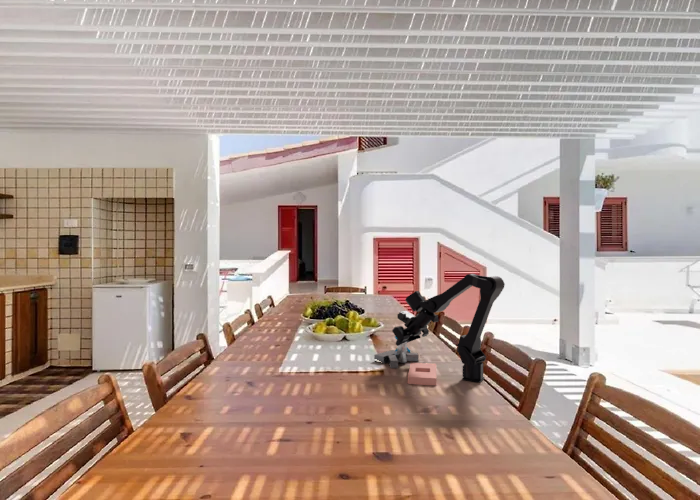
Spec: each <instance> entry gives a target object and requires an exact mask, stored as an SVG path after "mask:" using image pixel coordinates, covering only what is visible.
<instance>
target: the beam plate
mask: <svg viewBox="0 0 700 500" xmlns="http://www.w3.org/2000/svg"><path fill="white" fill-rule="evenodd" d="M407 384H408V385H424V386H437V363H426V362H425V363H424V362H410V365H409V369H408V373H407Z"/></svg>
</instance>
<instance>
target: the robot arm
mask: <svg viewBox="0 0 700 500" xmlns="http://www.w3.org/2000/svg"><path fill="white" fill-rule="evenodd" d="M505 285H506V284H505V282H504V279H503V278H502V277H500V276H496V275H495V276H485V275H479V274H475V273H468V274H466V275H465V276H464V277H463V278H461V279H460V280H459V281H457V282H456V283H454V284H453V285H451V286H450V287H449V288H447V290H445V291H444V292H441V293H440V294H436V295H434V296H432V297H430V298H428V299H425V298H424V297H423V296H422V294H421V292H420V290H415V291H414V292H412V293H410V294H409V295H407V296H406V298H405V300H404V301H405V302H406V303H407V305H408V306H409V307H410V308H411V310H412V311H413V312H417V314H416V315H414V314H413V313H410V311H407V310H402V311H400V312H398V313H397V314H396V315H397V319H398V320H399V321H400V322H403V323H404V326H401V325H399V326H395V327H393V328H392V329H391V331H392V333H393V334H394V337H395V336H396V337H397V339H396V341H395V345H396V347H397V346H398V345H400V344H403V343H405V342H407V344H408V343H411V342H414V341H415V340H418V339H421V338H423V337H427V336H428V335H429V333H430V332H429V331H430V330H429V328H428V325H429V324H430V323H437V322H439V315H438V314H436V313H440V312H443V311H445V310H446V309H447V308H448V307H449V306H450V305H451V303H452V301H453V300H455V299H456V298H457V297H459V296H460V295H462V294H464V293H465V292H466V291H467V290H469V289H470V288H471V287H475V288H477V289H479V295H480V296H479V297H480V298H479V301H478V305H477V306H476V310H475V313H474V315H473V317H472V321H471V323H470V327H469V329H468V331H467V334H464V335H460V337H459V341H458V342H457V344H456V347H457V353H458V355H459V357H460V360H461V363H462V364H463V365H462V378H461V379H462V381H469V382H476V383H481V382H482V381H483V380H485V376H484V362H486V359H487V355H486V354H485V353H484V352H483V350H482V349H481V346H482V341H481V340H482V339H481V338H482V337H481V336H482V335H483V334H482V333H483V331H484V328H485V326H486V324H487V320H488V317H489V316H490V312H491V310H492V307H493V305H494V303H495V301H496V300H497V298H499V296H500V295H501V294H502V292H503V290H504V288H505ZM404 327H405V328H404Z"/></svg>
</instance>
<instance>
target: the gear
mask: <svg viewBox="0 0 700 500" xmlns="http://www.w3.org/2000/svg"><path fill="white" fill-rule="evenodd" d="M394 338H395V340H397V337H396V336H395V335H394ZM394 351H397V347H396V348H395V349H394ZM410 351H411V350H410V349H409V348H408V346H407V353H411V352H410Z"/></svg>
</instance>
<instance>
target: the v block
mask: <svg viewBox="0 0 700 500" xmlns="http://www.w3.org/2000/svg"><path fill="white" fill-rule="evenodd" d="M373 357H374V359H377V360H379V361H381V362H382V363H383V364H382V363H381V364H382V365H385V364H388V366H389V365H390V366H389V367H390V369H399V362H398V359H397V351H395V349H393V350H387V351H383V352H379V353H376V354H374V355H373ZM419 359H420V358H419V353H417V352H407V361H418V362H419ZM384 363H385V364H384Z"/></svg>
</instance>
